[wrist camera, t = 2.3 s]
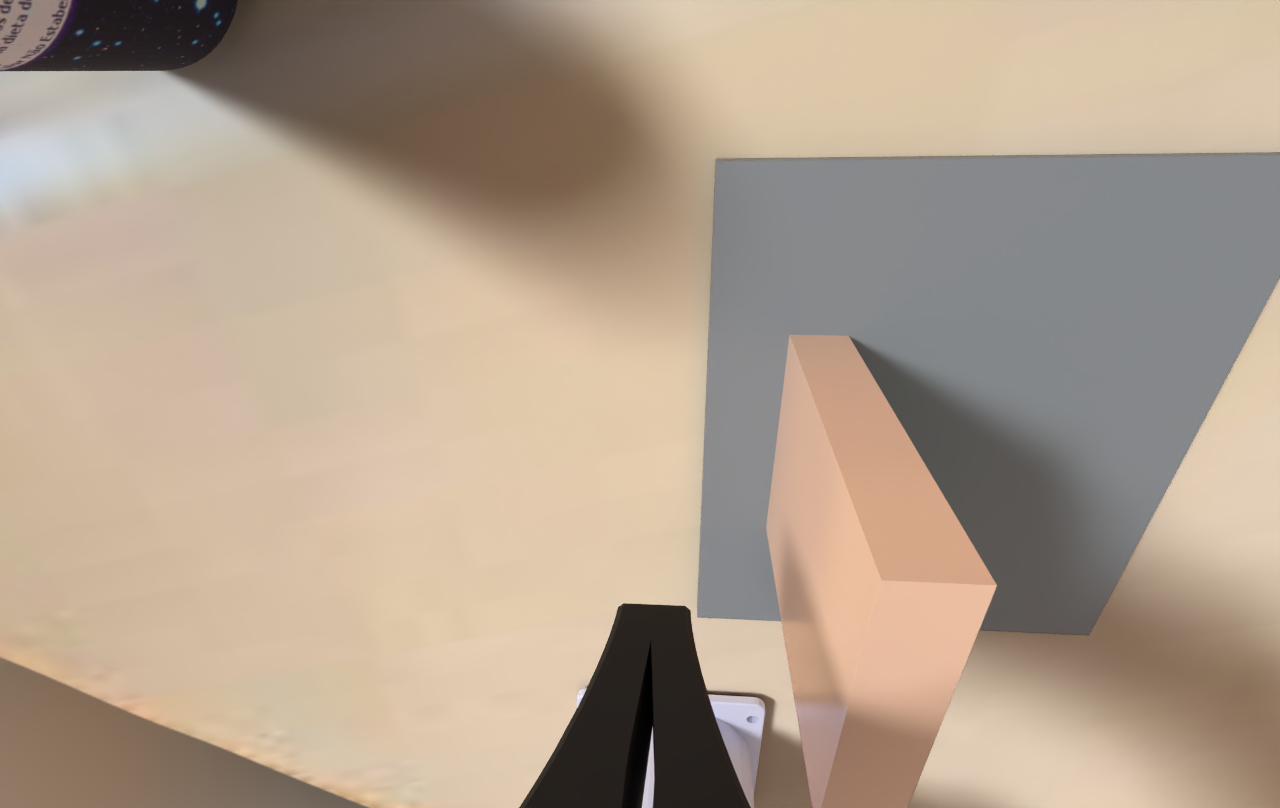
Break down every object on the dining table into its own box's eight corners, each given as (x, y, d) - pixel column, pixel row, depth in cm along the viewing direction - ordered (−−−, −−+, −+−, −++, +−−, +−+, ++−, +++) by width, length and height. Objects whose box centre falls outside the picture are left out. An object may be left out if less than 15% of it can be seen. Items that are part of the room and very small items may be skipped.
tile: (820, 530, 20) (907, 835, 12) (766, 528, 20) (815, 828, 12) (855, 335, 16) (1012, 585, 8) (789, 334, 16) (881, 580, 8)
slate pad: (1080, 623, 22) (1088, 635, 21) (697, 606, 23) (697, 617, 22) (1324, 152, 14) (1345, 154, 13) (715, 158, 15) (716, 161, 14)
